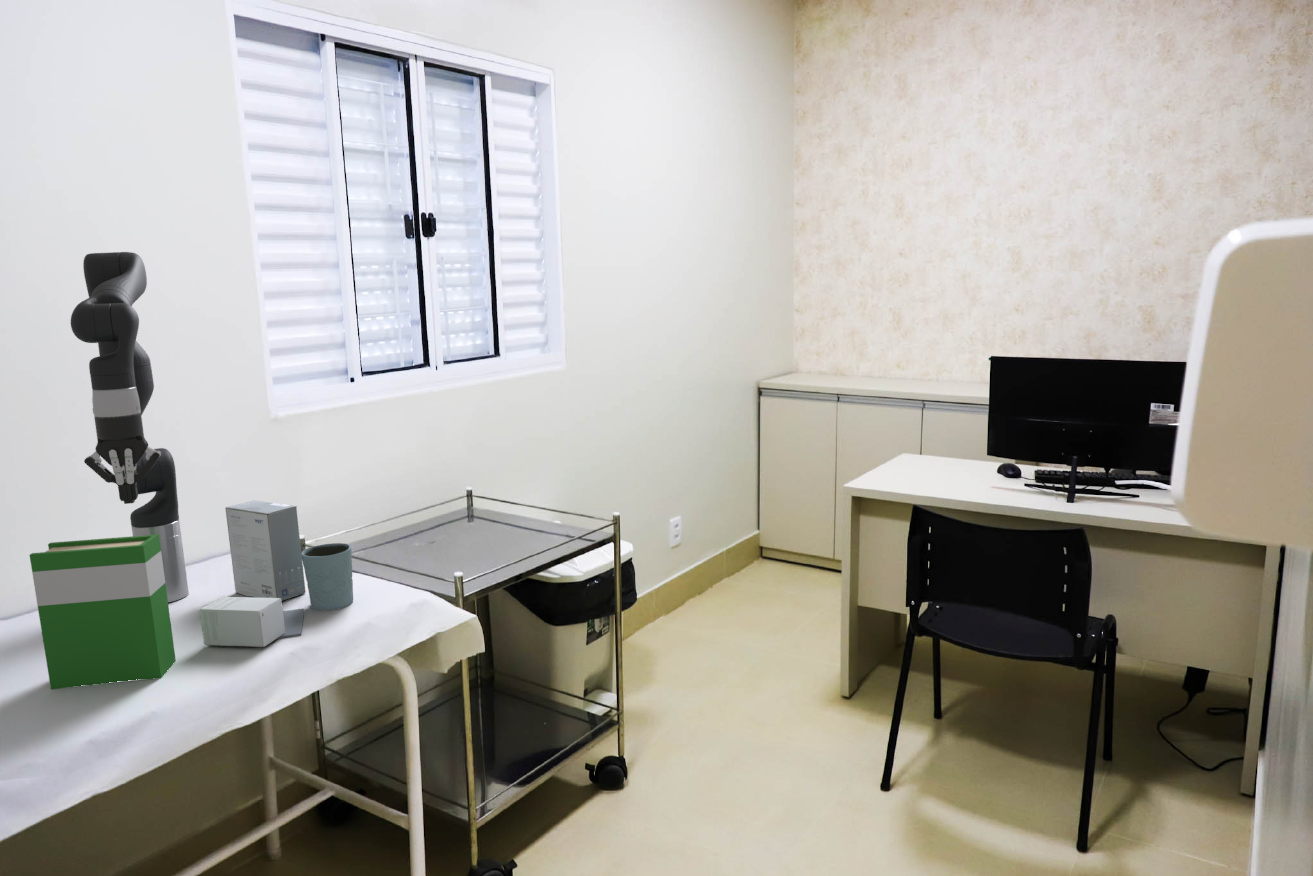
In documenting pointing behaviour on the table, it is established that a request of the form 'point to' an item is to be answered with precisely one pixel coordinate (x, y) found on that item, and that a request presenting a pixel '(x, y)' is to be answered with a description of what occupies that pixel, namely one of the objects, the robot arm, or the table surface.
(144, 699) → the table surface
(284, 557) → the hard drive box
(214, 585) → the table surface
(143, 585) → the hardback book
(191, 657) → the table surface
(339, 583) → the blue-grey plant pot
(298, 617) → the mat
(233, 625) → the supplement box
